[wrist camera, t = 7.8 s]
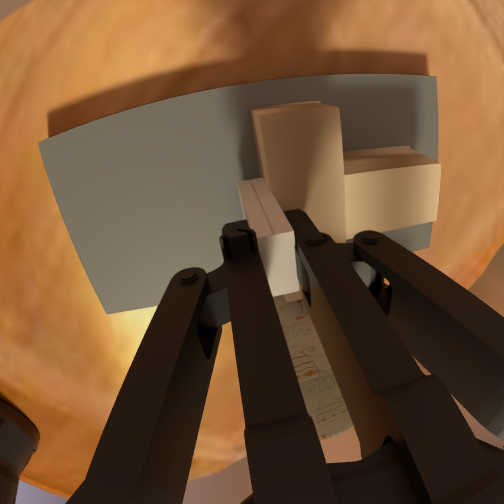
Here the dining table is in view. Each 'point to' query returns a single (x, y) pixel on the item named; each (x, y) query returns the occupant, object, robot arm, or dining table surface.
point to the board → (206, 172)
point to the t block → (340, 174)
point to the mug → (313, 370)
